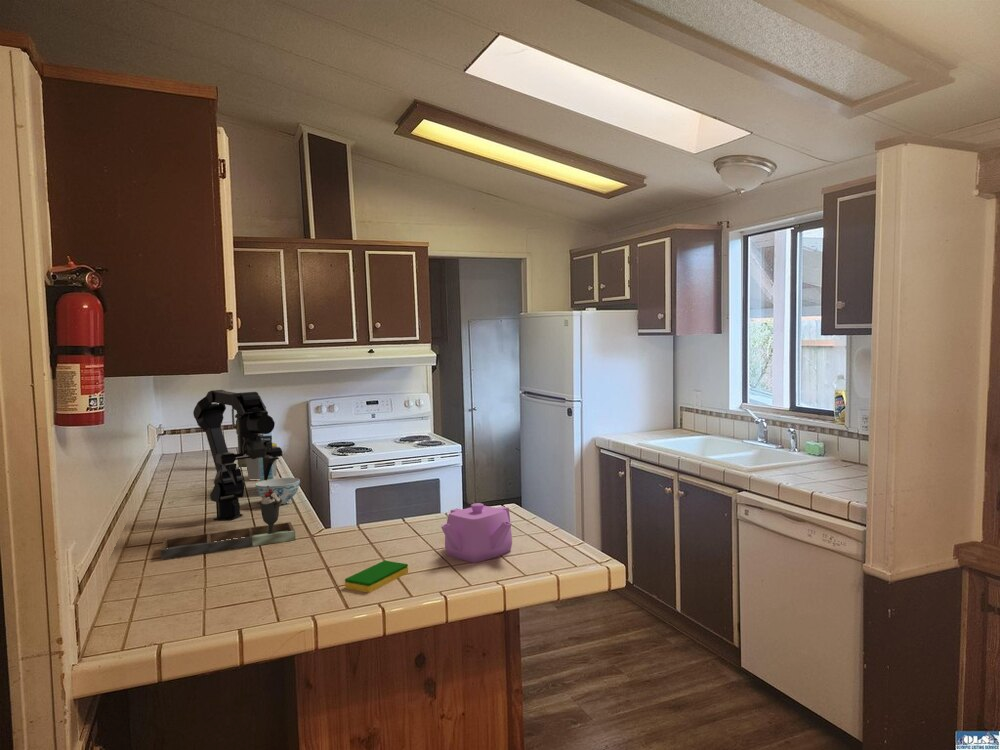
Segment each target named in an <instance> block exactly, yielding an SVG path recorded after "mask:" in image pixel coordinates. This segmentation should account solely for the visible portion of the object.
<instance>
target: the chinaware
mask: <svg viewBox="0 0 1000 750" xmlns="http://www.w3.org/2000/svg"><path fill="white" fill-rule="evenodd" d="M300 484H301V480H300V478H297V477H280V478H279V477H278V478H277V477H276V478H275V479H269V480H266V481H265V480H264V481H256V483H255V484H254V485H255V490H256V491H257V493H258V495H259V497H260V498H261V499H263V498H264V496H265V494H266V492H269V489H270V490H273V492H275V493H276V494H278V495H279V497H278V498H279V499H282V502H281V503H280V506H282V505H281V504H284V505H286V504H285V503H287V502H288V501H290V500H291V499H292V498H293V497H294V496H295V495H296V494H297V492H298V490H299V487H300ZM267 486H269V487H267ZM268 488H269V489H268ZM287 504H288V503H287Z"/></svg>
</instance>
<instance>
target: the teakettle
mask: <svg viewBox="0 0 1000 750" xmlns="http://www.w3.org/2000/svg"><path fill="white" fill-rule="evenodd" d="M440 528H441V531H442V532H443V534H444V548H445V549H444V550H445V551H446V552H445V553H446V554H447V556H449V557H452V558H455V559H458V560H461V561H465V562H469V563H473V564H474V563H480V562H483V561H488V560H490V559H494V558H497V557H499V556H503V555H505V554H506V553H509V552H510V551H511V549H512V545H513V536H512V535H513V534H512V523H511V516H510V507H508V506H507V507H506V506H499V507H493V506H488V505H484V503H482V502H477V503H472V504H470V507H466V508H454V509H450V512H449V514H448V515H447V519H446V523H445V524H443V525H441V526H440Z"/></svg>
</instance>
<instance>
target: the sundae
mask: <svg viewBox="0 0 1000 750" xmlns="http://www.w3.org/2000/svg"><path fill="white" fill-rule="evenodd" d="M267 487H269V486H267ZM268 489H269V488H268ZM278 497H279V495H278V494H276V493H275V492H273V490H270V489H269V492H266V494H265V496H264V498H261V501H258V502H257V504H258V505H259V507H260V511H261V517H262V520H263V521H262V522H264V523H265V524H266V525H269V532H268V534H274V533H275V532H274V530H273V525H274V524H276V523H277V521H278V520H279V515H280V506H281V505H280V503H281V502H282V499H279V498H278Z"/></svg>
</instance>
